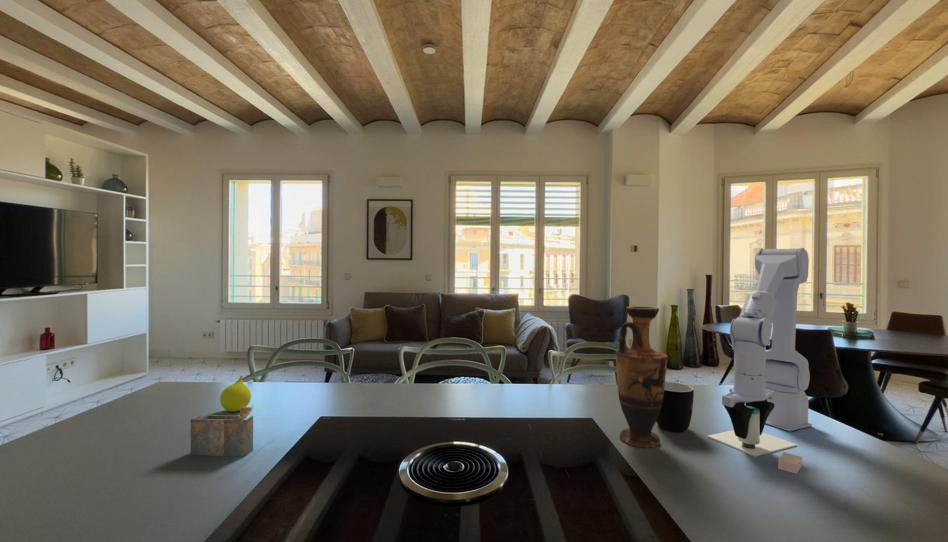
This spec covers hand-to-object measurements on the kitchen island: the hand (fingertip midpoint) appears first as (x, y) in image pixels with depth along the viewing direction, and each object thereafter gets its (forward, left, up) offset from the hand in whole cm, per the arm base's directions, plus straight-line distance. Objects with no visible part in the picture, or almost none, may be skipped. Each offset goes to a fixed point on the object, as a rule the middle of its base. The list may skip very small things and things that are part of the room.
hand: (748, 435), depth 92 cm
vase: (+19, -12, -3) cm, 23 cm away
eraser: (+1, +9, -3) cm, 10 cm away
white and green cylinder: (0, 0, -2) cm, 2 cm away
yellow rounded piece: (+104, -67, -3) cm, 124 cm away
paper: (-4, -2, -3) cm, 5 cm away
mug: (+5, -16, -3) cm, 17 cm away
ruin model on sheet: (+104, -40, -3) cm, 111 cm away
